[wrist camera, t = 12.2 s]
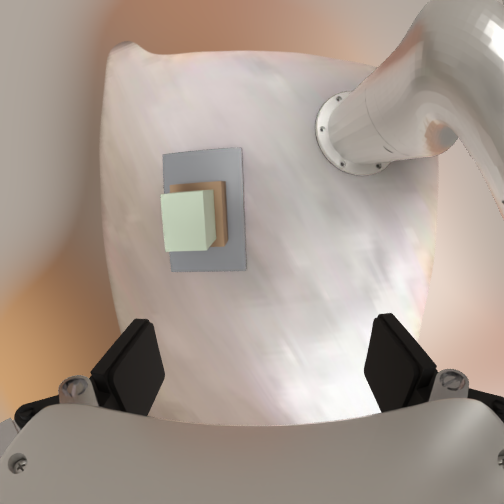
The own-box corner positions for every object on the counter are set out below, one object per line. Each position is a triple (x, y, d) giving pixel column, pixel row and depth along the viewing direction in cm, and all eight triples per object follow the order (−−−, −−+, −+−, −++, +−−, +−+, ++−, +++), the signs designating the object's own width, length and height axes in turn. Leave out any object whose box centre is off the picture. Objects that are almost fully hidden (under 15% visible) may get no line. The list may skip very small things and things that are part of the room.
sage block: (213, 189, 32) (202, 191, 26) (216, 238, 33) (206, 250, 27) (177, 192, 32) (160, 194, 26) (181, 239, 34) (165, 251, 28)
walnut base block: (225, 181, 35) (221, 181, 32) (228, 239, 37) (224, 246, 34) (178, 184, 36) (169, 185, 32) (182, 241, 38) (174, 248, 34)
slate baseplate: (241, 148, 35) (241, 147, 34) (246, 268, 39) (246, 270, 38) (165, 155, 36) (162, 154, 35) (173, 269, 40) (171, 271, 39)
